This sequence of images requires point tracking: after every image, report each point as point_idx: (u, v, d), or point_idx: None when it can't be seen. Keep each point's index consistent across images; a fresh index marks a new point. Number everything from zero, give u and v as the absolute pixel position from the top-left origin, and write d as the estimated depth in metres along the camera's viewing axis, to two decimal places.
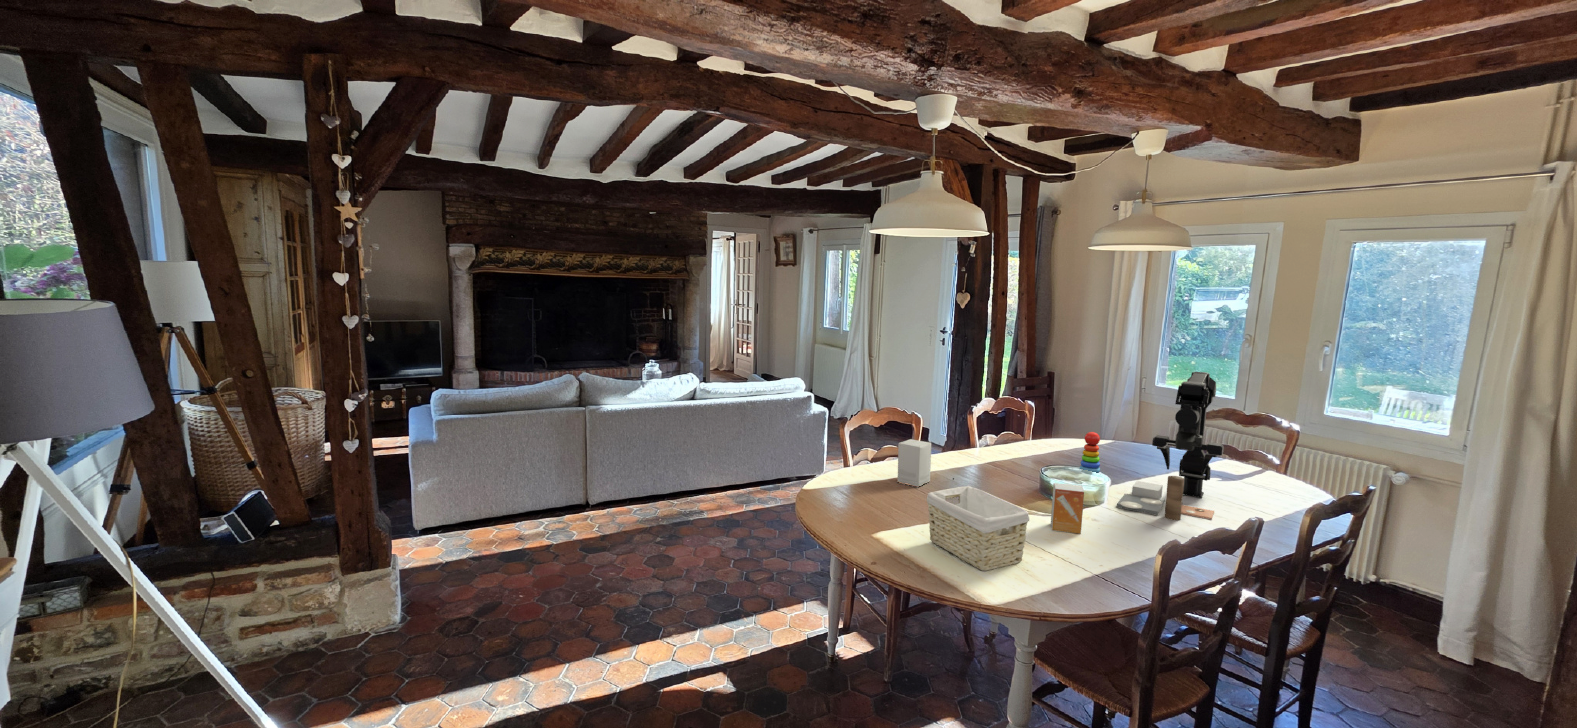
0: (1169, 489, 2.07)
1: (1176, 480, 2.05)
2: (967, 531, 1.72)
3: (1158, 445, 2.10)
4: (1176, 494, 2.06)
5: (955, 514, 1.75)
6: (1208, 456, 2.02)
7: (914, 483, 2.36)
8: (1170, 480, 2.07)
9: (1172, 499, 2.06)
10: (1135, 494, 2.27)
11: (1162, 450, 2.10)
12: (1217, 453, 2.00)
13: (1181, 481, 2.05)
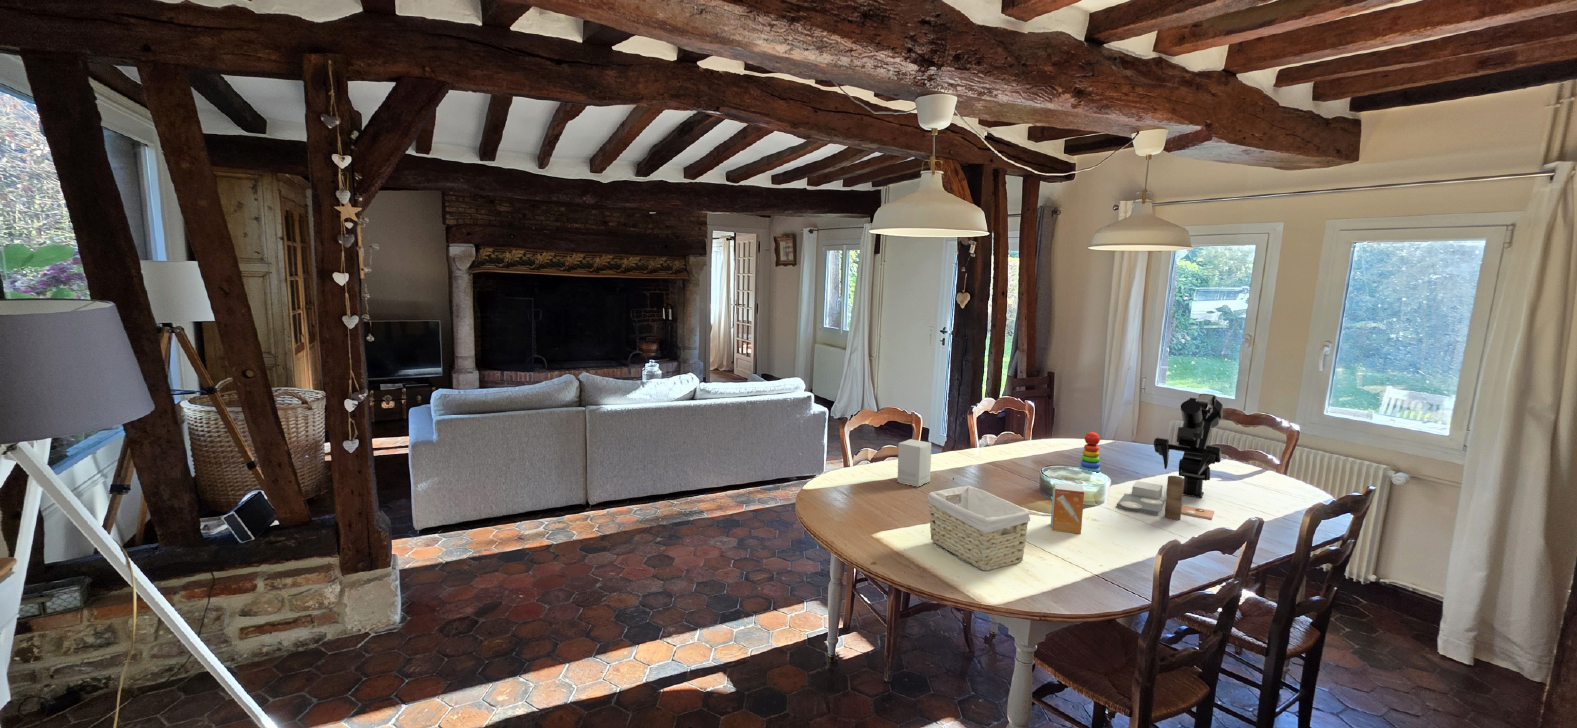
0: (1169, 489, 2.07)
1: (1176, 480, 2.05)
2: (968, 531, 1.72)
3: (1159, 442, 2.19)
4: (1176, 494, 2.06)
5: (956, 514, 1.75)
6: (1206, 453, 2.10)
7: (914, 483, 2.36)
8: (1170, 480, 2.07)
9: (1172, 499, 2.06)
10: (1135, 494, 2.27)
11: (1162, 447, 2.18)
12: (1215, 450, 2.09)
13: (1181, 481, 2.05)
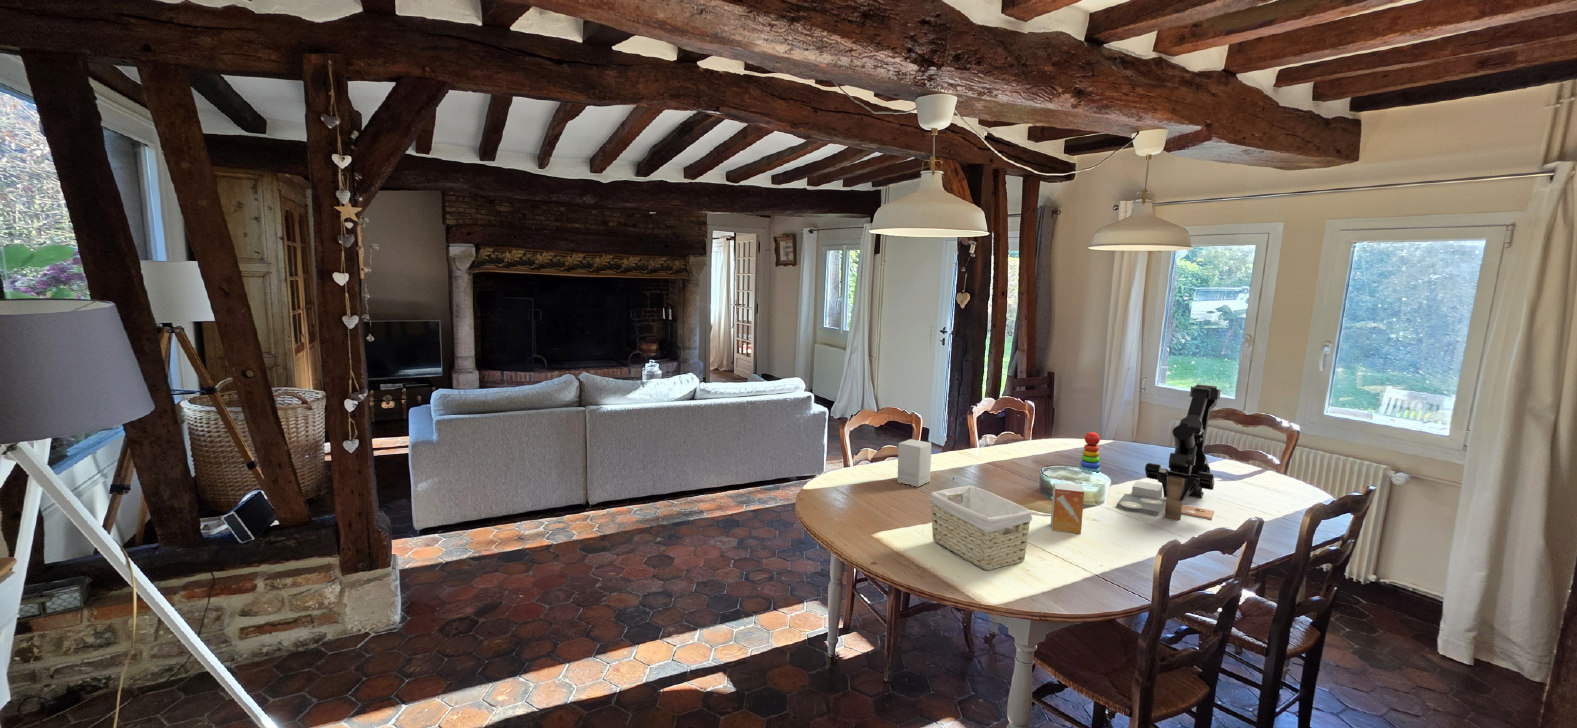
0: (1169, 489, 2.07)
1: (1176, 480, 2.05)
2: (970, 530, 1.72)
3: (1151, 468, 2.13)
4: (1176, 494, 2.06)
5: (958, 513, 1.75)
6: (1190, 479, 2.06)
7: (914, 483, 2.36)
8: (1170, 480, 2.07)
9: (1172, 499, 2.06)
10: (1135, 494, 2.27)
11: (1162, 475, 2.11)
12: (1208, 477, 2.03)
13: (1181, 481, 2.05)
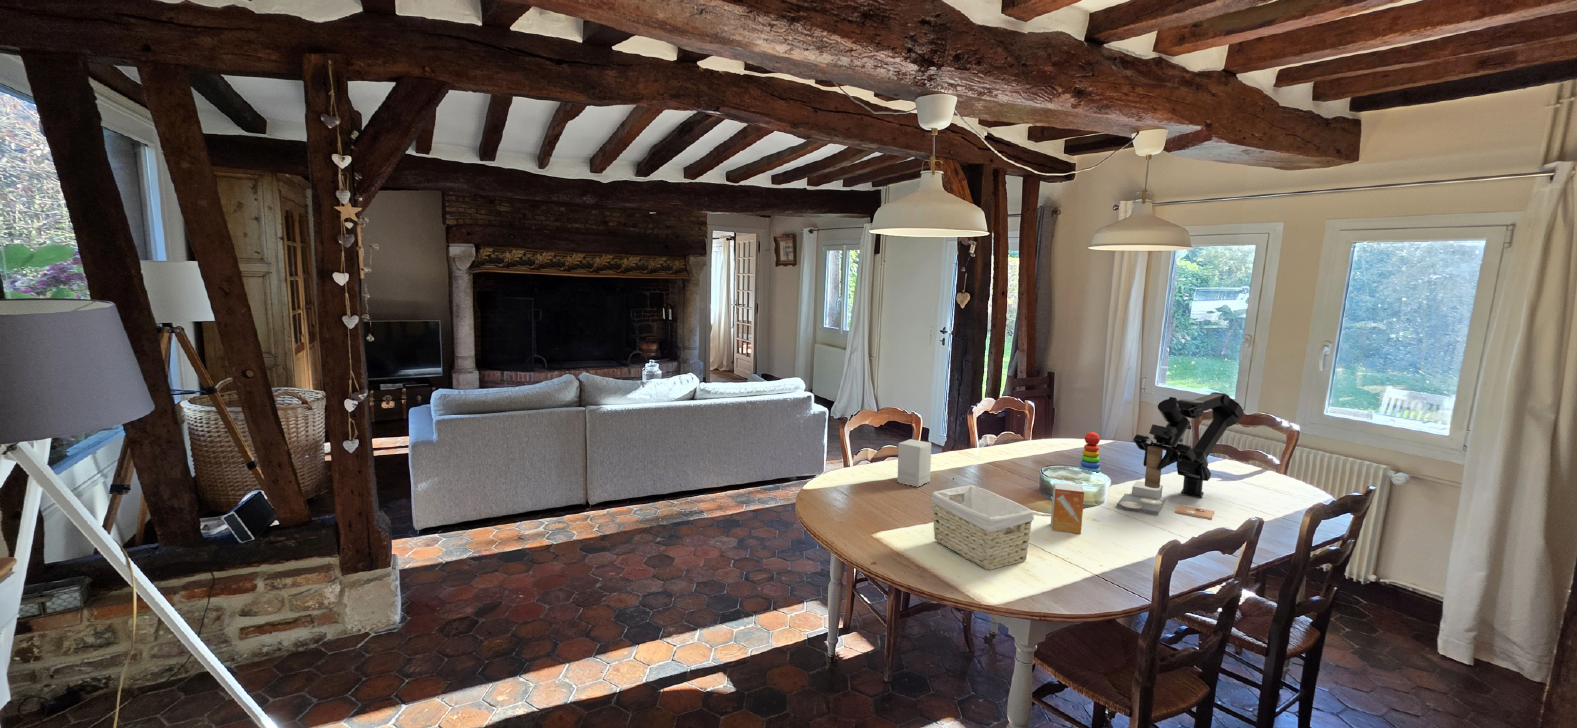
0: (1147, 458, 2.19)
1: (1153, 449, 2.17)
2: (972, 530, 1.73)
3: (1137, 438, 2.26)
4: (1152, 463, 2.17)
5: (960, 513, 1.76)
6: (1168, 450, 2.16)
7: (914, 483, 2.36)
8: (1148, 449, 2.18)
9: (1149, 467, 2.18)
10: (1135, 494, 2.27)
11: (1145, 445, 2.23)
12: (1184, 449, 2.12)
13: (1158, 451, 2.16)
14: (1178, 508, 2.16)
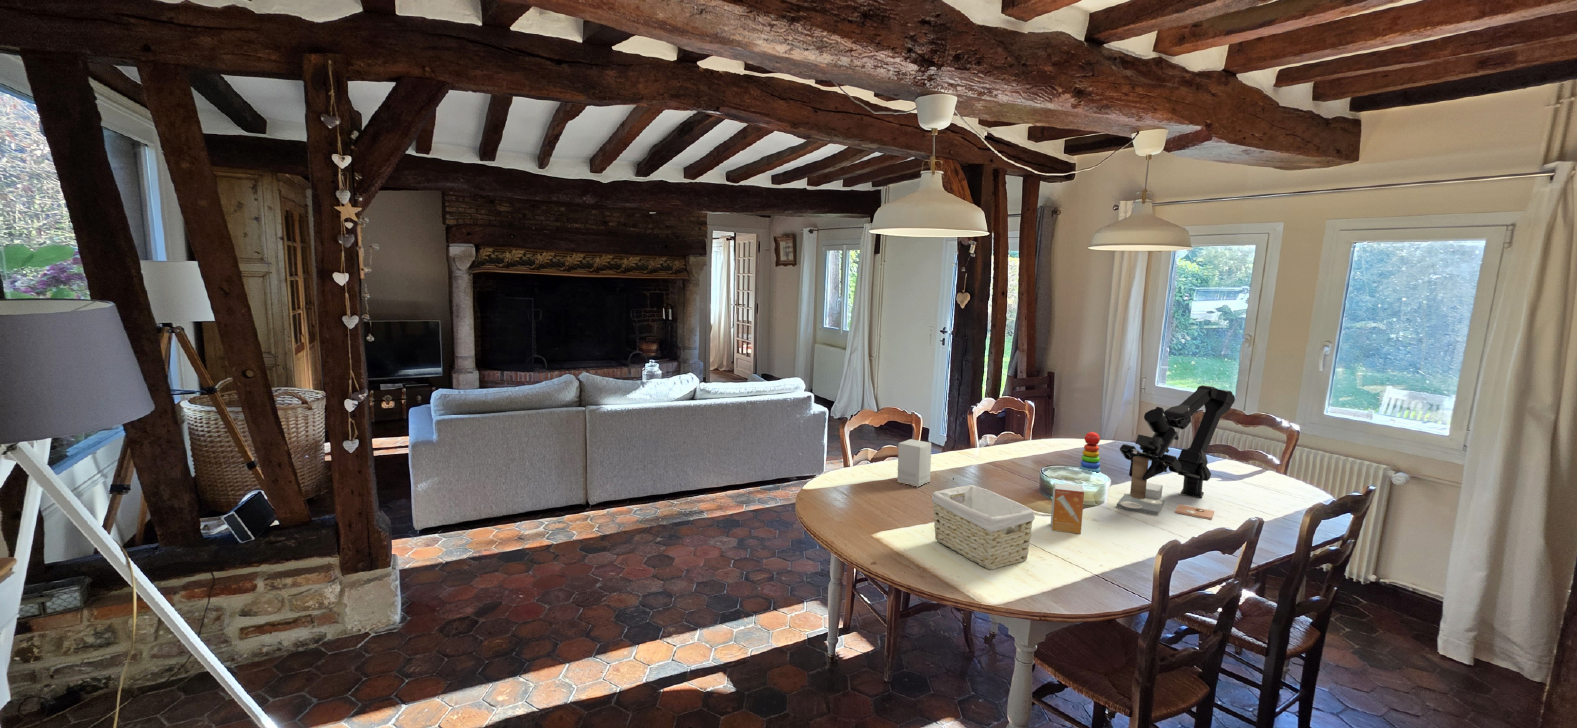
0: (1133, 468, 2.17)
1: (1138, 460, 2.15)
2: (973, 530, 1.73)
3: (1124, 448, 2.23)
4: (1138, 473, 2.15)
5: (961, 513, 1.76)
6: (1154, 460, 2.13)
7: (914, 483, 2.36)
8: (1133, 459, 2.16)
9: (1135, 478, 2.16)
10: None
11: (1131, 455, 2.20)
12: (1169, 459, 2.10)
13: (1143, 461, 2.14)
14: (1178, 508, 2.16)
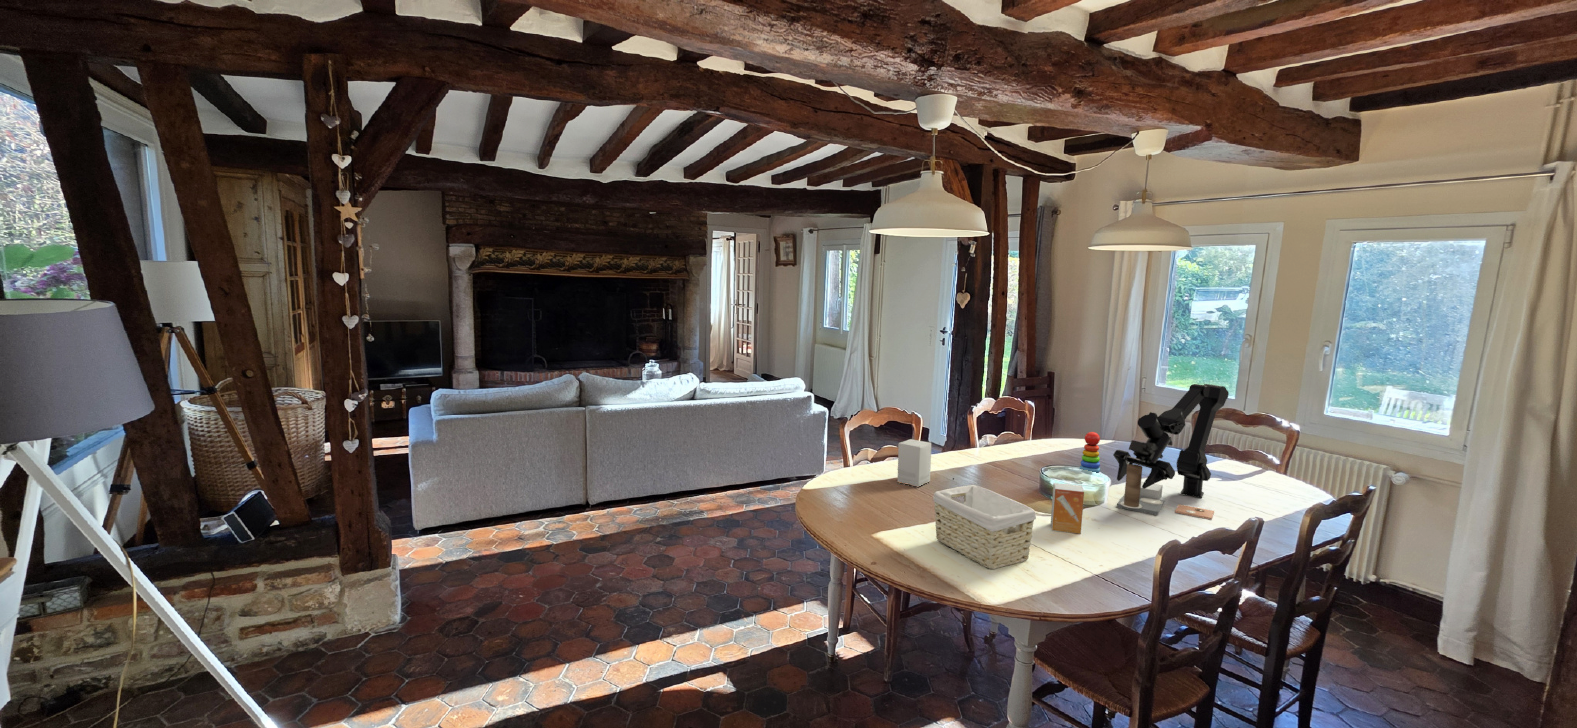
0: (1126, 476, 2.16)
1: (1132, 468, 2.14)
2: (974, 530, 1.73)
3: (1117, 454, 2.22)
4: (1131, 482, 2.14)
5: (962, 513, 1.76)
6: (1154, 468, 2.10)
7: (914, 483, 2.36)
8: (1127, 467, 2.15)
9: (1128, 486, 2.15)
10: None
11: (1119, 459, 2.21)
12: (1163, 465, 2.08)
13: (1137, 469, 2.13)
14: (1178, 508, 2.16)
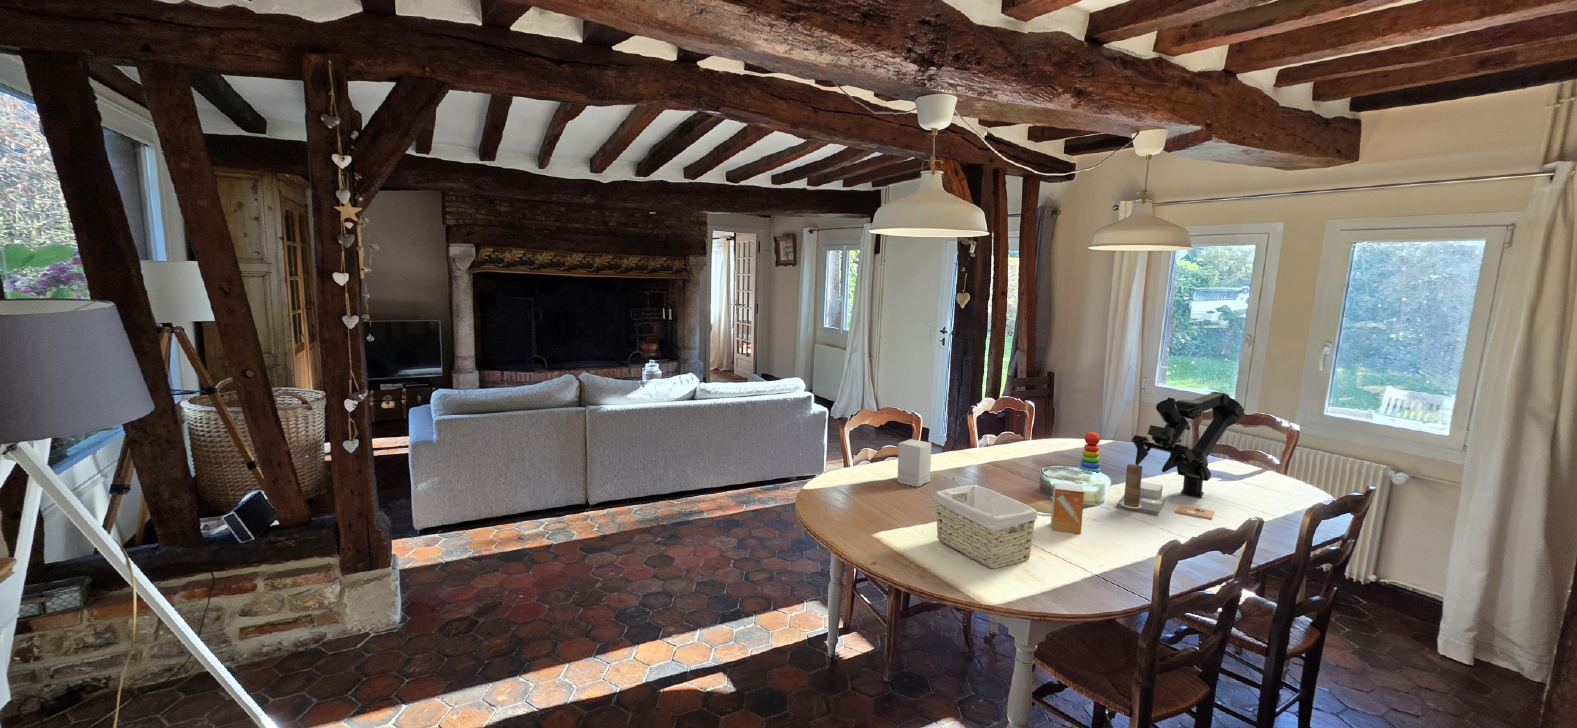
0: (1126, 476, 2.16)
1: (1132, 468, 2.14)
2: (976, 529, 1.73)
3: (1136, 439, 2.26)
4: (1131, 482, 2.14)
5: (964, 512, 1.76)
6: (1173, 452, 2.14)
7: (914, 483, 2.36)
8: (1127, 467, 2.15)
9: (1128, 486, 2.15)
10: None
11: (1137, 444, 2.25)
12: (1182, 449, 2.12)
13: (1137, 469, 2.13)
14: (1178, 508, 2.16)
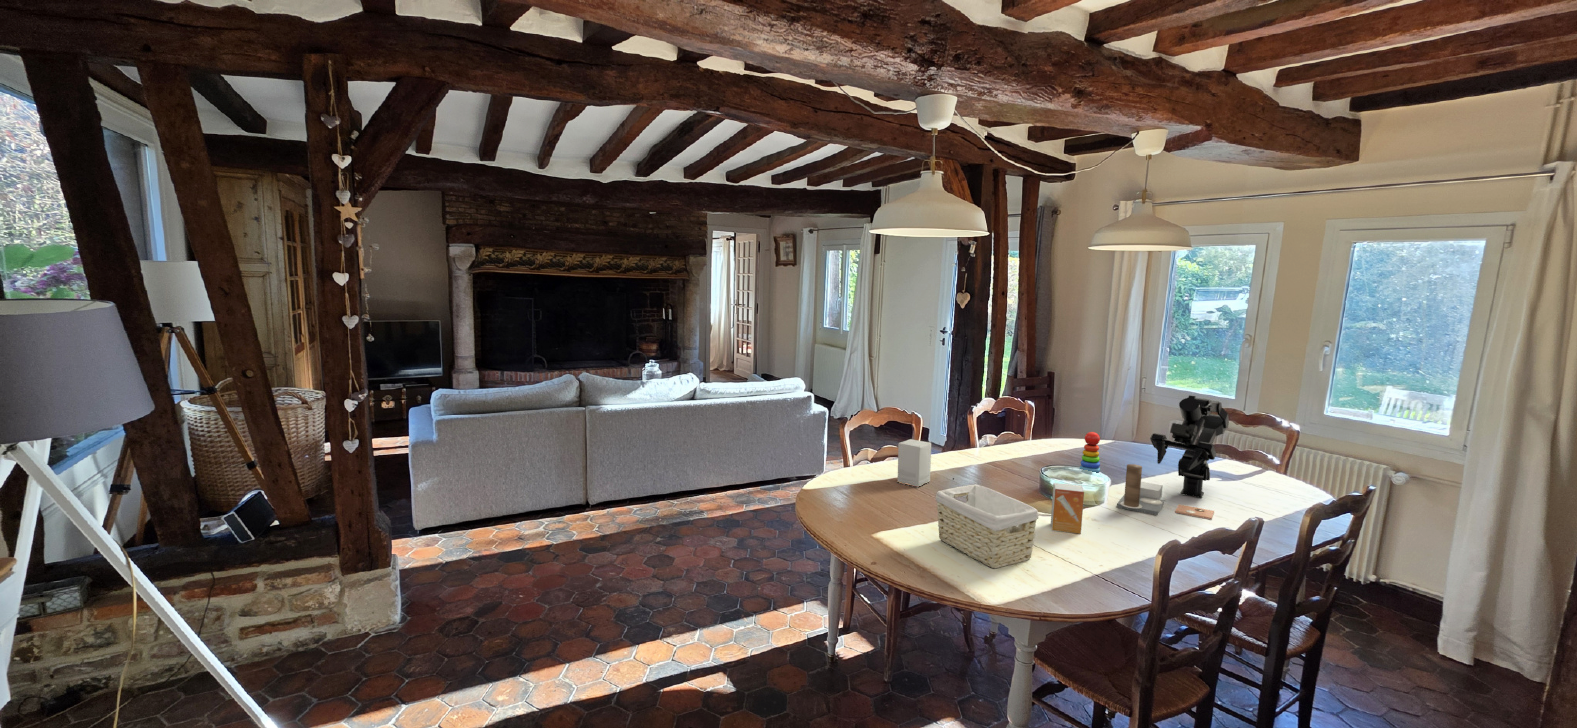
0: (1126, 476, 2.16)
1: (1131, 468, 2.14)
2: (977, 529, 1.74)
3: (1155, 437, 2.25)
4: (1131, 482, 2.14)
5: (965, 512, 1.76)
6: (1198, 449, 2.14)
7: (914, 483, 2.36)
8: (1127, 467, 2.15)
9: (1128, 486, 2.15)
10: None
11: (1157, 443, 2.23)
12: (1207, 447, 2.12)
13: (1136, 469, 2.13)
14: (1178, 508, 2.16)
